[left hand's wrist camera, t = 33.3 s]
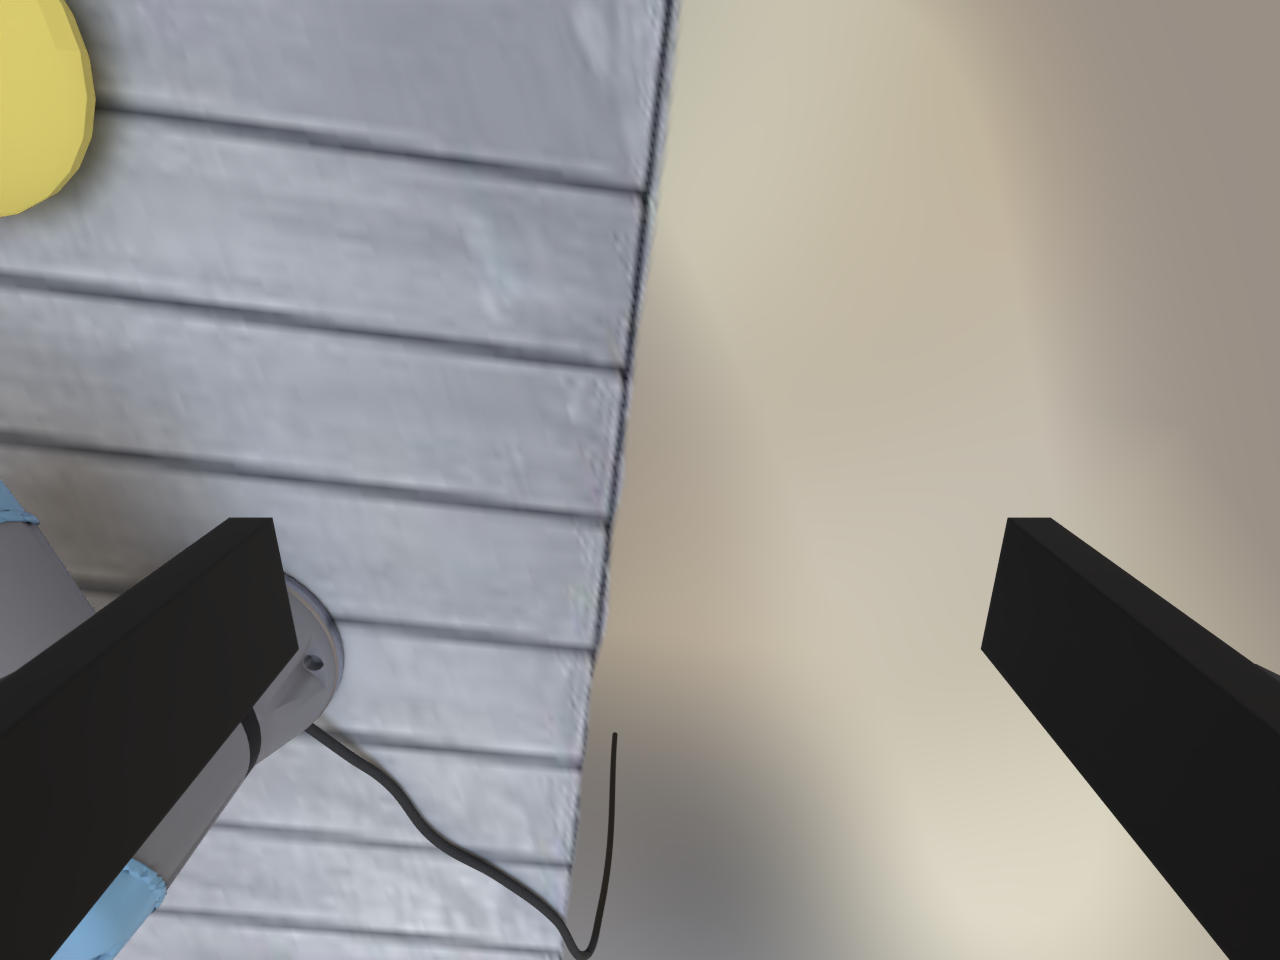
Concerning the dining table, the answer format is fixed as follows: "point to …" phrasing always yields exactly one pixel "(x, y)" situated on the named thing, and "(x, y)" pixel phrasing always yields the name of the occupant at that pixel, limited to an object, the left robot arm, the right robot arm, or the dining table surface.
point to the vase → (41, 101)
